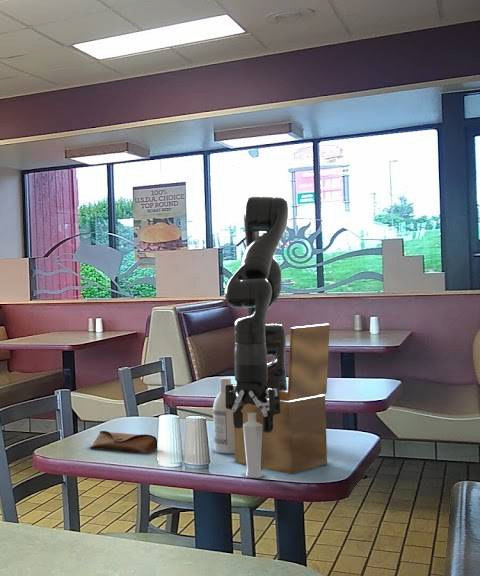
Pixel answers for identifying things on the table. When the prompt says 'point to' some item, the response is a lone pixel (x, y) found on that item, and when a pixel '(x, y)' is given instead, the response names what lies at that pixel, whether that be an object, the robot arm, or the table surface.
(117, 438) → the sunglasses case
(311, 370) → the chest lid
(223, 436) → the bath foam
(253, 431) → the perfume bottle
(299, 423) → the chest
